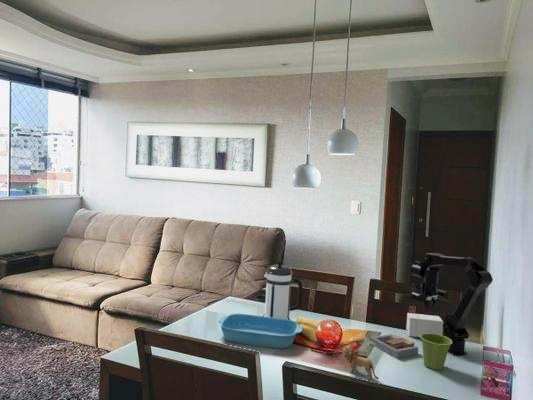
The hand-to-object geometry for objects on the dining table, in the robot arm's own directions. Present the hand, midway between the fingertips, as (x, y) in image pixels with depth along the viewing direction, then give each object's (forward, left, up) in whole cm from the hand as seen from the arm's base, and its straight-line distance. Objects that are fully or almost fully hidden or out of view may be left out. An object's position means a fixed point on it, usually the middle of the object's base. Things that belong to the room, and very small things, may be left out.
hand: (428, 313), depth 200 cm
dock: (-4, +25, -12) cm, 28 cm away
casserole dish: (+26, +74, -12) cm, 79 cm away
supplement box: (+9, +4, -8) cm, 12 cm away
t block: (-5, +23, -12) cm, 27 cm away
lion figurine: (-18, +54, -12) cm, 58 cm away
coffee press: (+44, +54, -12) cm, 71 cm away
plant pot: (-23, +21, -12) cm, 33 cm away
